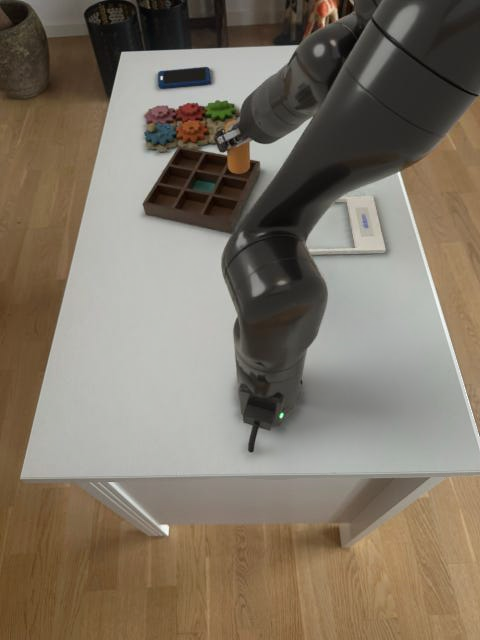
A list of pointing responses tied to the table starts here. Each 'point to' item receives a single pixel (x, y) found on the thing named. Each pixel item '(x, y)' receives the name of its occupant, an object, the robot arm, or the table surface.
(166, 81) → the cell phone
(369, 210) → the photo frame
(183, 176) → the grid
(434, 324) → the table surface
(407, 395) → the table surface
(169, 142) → the gear puzzle
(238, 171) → the orange cylinder
